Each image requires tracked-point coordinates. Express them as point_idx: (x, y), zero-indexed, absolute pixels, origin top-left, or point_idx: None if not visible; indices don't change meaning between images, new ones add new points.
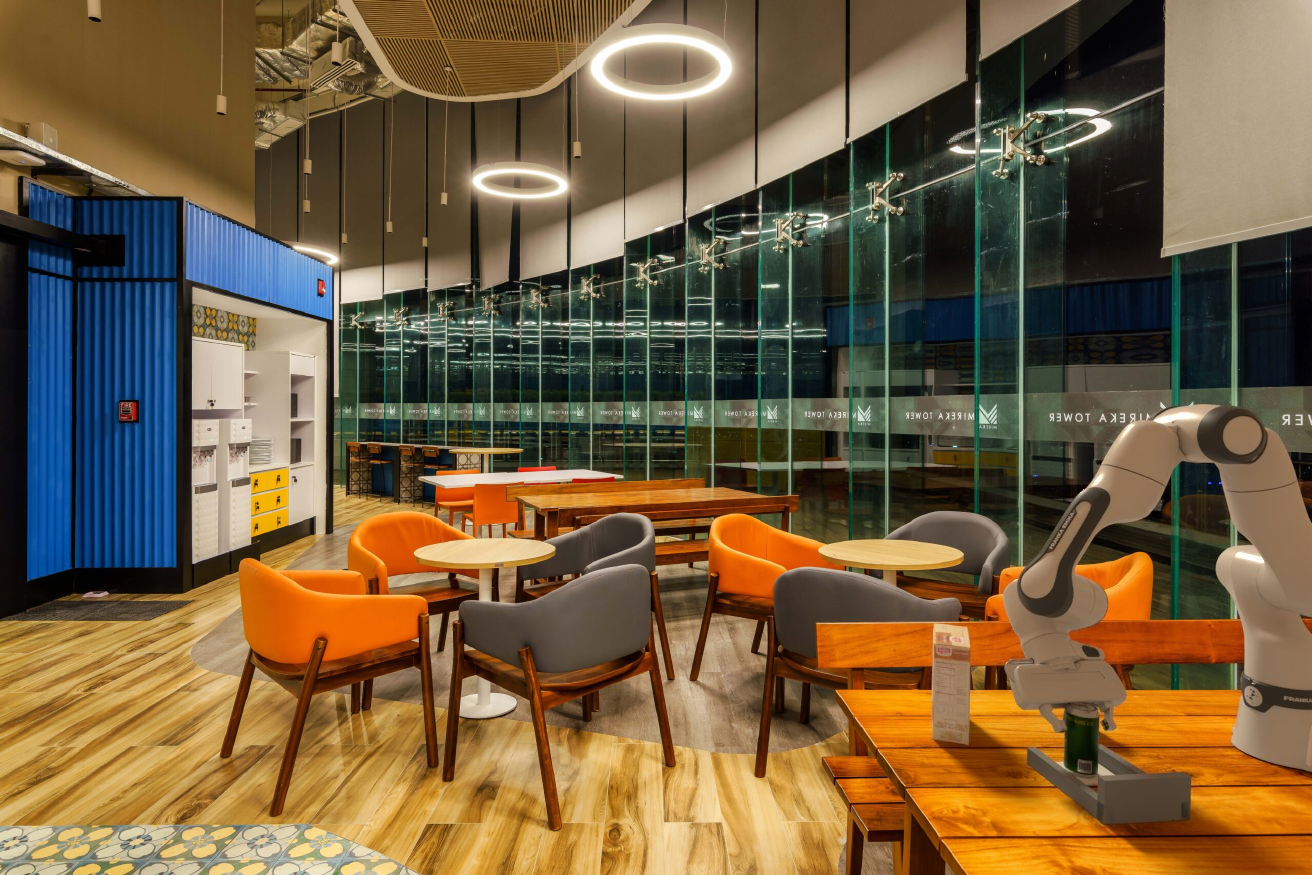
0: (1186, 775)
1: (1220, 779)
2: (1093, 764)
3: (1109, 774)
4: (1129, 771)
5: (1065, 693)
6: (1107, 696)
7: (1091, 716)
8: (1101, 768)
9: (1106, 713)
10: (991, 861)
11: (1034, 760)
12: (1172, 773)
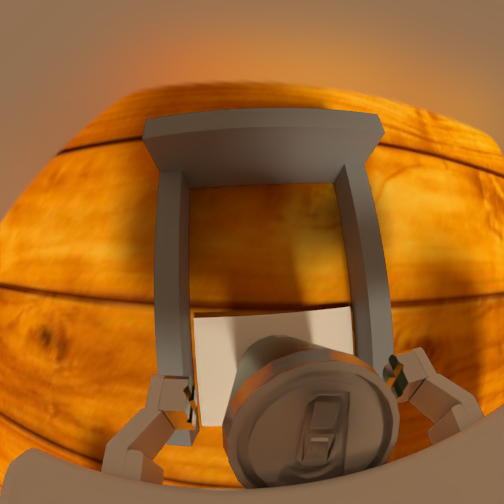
0: (151, 123)
1: (18, 310)
2: (271, 337)
3: (209, 356)
4: (181, 310)
5: (407, 498)
6: (106, 490)
7: (314, 355)
8: (209, 386)
9: (150, 446)
10: (480, 135)
11: None
12: (178, 128)
